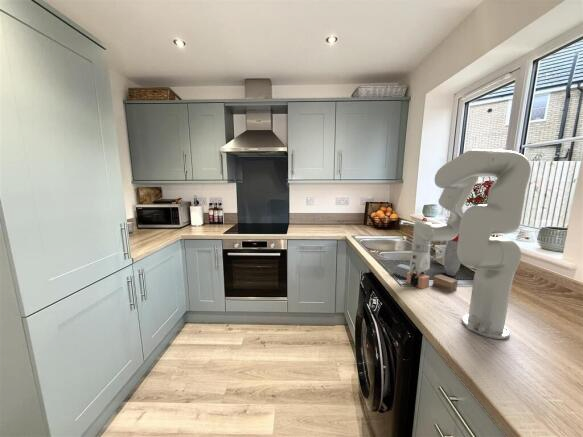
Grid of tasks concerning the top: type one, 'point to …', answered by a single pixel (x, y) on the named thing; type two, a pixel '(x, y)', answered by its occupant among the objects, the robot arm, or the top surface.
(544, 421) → the top surface
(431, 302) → the top surface
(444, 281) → the walnut brick
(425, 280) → the terracotta brick
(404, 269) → the slate-grey brick
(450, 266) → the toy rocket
